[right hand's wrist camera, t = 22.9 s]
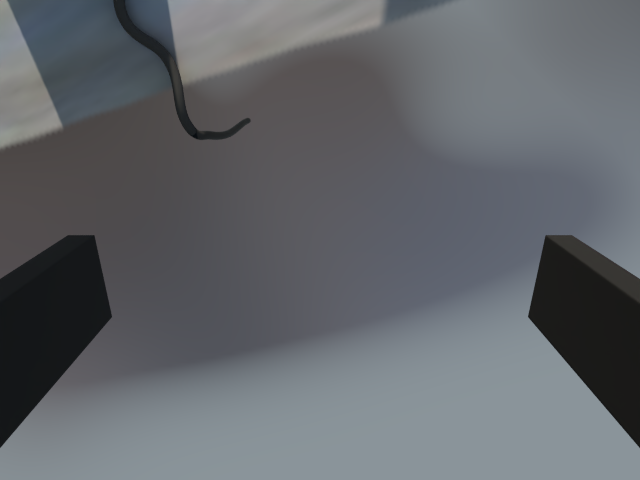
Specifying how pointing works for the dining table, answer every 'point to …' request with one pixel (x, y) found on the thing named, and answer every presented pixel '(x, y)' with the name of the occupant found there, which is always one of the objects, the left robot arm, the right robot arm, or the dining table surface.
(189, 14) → the dining table surface
